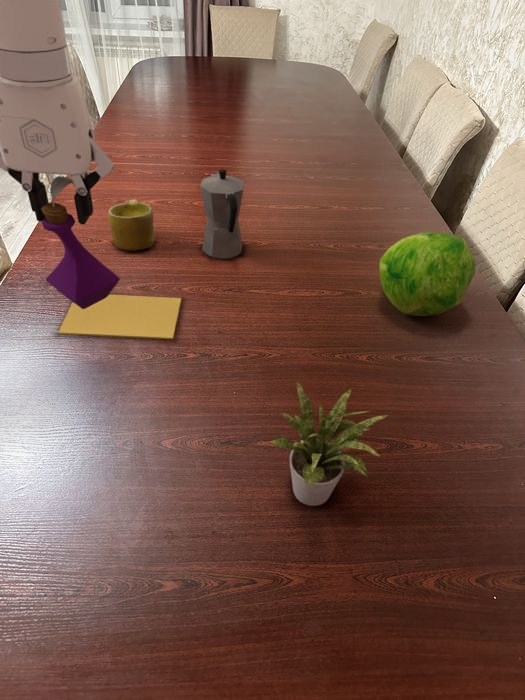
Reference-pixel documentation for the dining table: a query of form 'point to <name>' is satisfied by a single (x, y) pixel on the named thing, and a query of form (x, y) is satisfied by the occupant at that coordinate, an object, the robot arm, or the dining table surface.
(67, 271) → the purple potion bottle
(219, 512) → the dining table surface
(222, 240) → the coffeepot
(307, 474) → the house plant
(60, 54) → the robot arm
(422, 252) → the lettuce
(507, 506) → the dining table surface
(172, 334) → the yellow rectangular board
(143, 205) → the mug
